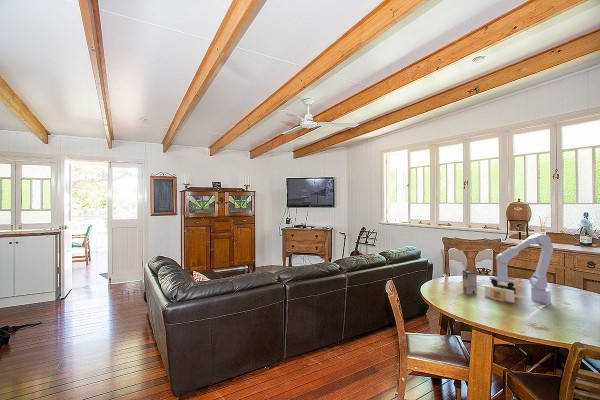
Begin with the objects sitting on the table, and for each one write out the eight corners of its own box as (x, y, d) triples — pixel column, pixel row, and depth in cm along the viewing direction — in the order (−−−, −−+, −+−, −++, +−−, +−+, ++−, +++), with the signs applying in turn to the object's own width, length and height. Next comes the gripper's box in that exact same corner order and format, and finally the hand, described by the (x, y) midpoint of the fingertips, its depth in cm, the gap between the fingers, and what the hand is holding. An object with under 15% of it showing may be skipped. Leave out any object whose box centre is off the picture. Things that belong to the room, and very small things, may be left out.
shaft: (516, 294, 191) (516, 287, 191) (506, 299, 180) (505, 292, 181) (497, 290, 200) (497, 283, 200) (486, 295, 189) (486, 288, 189)
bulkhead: (514, 304, 182) (514, 290, 182) (513, 305, 181) (513, 291, 181) (486, 297, 195) (486, 285, 195) (484, 298, 194) (484, 285, 194)
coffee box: (462, 292, 208) (462, 269, 208) (472, 292, 206) (471, 270, 206) (467, 296, 199) (466, 272, 199) (477, 296, 197) (477, 273, 197)
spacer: (504, 301, 184) (504, 290, 184) (503, 301, 183) (503, 290, 183) (491, 298, 190) (491, 287, 190) (490, 298, 189) (490, 287, 189)
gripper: (487, 270, 195) (487, 291, 195) (513, 275, 183) (513, 296, 183) (491, 269, 199) (492, 289, 199) (517, 273, 188) (517, 294, 187)
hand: (502, 292), depth 191 cm, fingers open, 7 cm apart
